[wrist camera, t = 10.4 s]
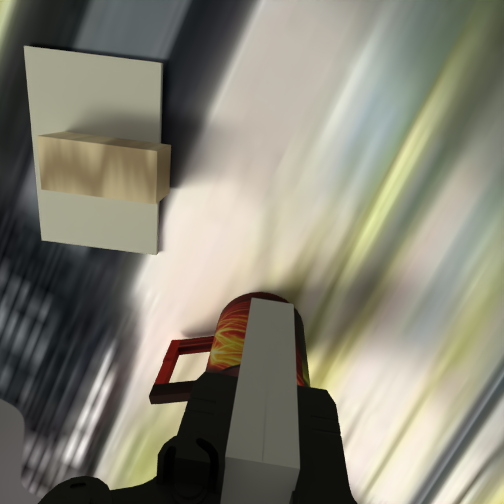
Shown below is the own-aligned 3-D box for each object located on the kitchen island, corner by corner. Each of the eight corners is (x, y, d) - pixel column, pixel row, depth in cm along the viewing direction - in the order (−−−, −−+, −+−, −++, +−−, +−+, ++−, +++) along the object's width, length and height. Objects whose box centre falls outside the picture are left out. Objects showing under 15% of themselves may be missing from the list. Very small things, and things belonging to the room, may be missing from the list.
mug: (171, 336, 44) (136, 415, 33) (272, 276, 41) (270, 342, 30) (221, 393, 47) (204, 484, 36) (319, 341, 44) (334, 425, 32)
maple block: (171, 144, 36) (64, 131, 36) (157, 151, 32) (36, 135, 32) (169, 192, 38) (67, 179, 38) (155, 204, 33) (41, 189, 34)
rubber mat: (27, 46, 34) (23, 45, 34) (163, 63, 34) (161, 62, 33) (45, 238, 41) (41, 240, 40) (157, 252, 41) (156, 255, 40)
